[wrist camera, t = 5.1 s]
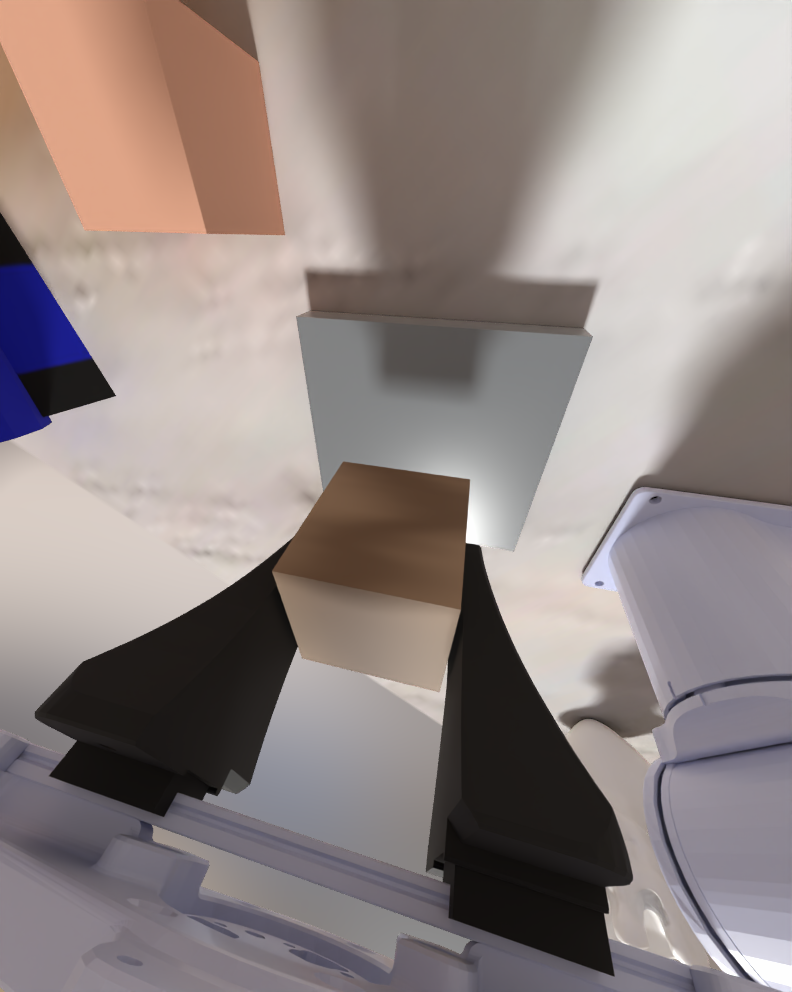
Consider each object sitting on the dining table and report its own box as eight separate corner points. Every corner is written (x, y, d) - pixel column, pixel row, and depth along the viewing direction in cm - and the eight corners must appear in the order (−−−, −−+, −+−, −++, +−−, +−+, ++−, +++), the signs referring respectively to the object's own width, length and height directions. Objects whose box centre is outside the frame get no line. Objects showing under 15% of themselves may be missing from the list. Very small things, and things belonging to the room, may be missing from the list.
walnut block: (470, 479, 11) (461, 609, 7) (452, 565, 14) (439, 692, 10) (343, 461, 12) (271, 571, 8) (351, 547, 14) (302, 658, 11)
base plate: (584, 328, 13) (592, 336, 12) (512, 534, 21) (513, 551, 20) (310, 310, 15) (296, 316, 14) (335, 505, 23) (327, 519, 22)
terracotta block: (259, 62, 11) (135, -34, 7) (285, 235, 14) (206, 233, 10) (145, 70, 12) (-25, -13, 8) (192, 232, 14) (84, 230, 11)
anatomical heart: (555, 740, 39) (582, 949, 28) (529, 697, 34) (550, 932, 22) (652, 748, 35) (732, 998, 23) (639, 699, 30) (735, 992, 18)
